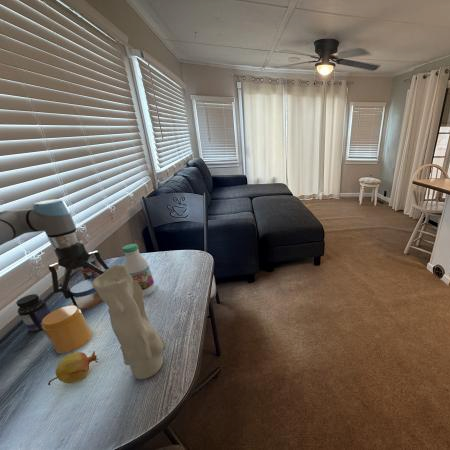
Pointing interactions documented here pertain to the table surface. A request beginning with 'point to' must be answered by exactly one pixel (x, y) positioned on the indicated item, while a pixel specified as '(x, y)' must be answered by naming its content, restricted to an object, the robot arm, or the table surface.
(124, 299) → the vase
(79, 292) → the lid
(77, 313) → the jar
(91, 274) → the supplement bottle
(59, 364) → the fruit
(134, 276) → the milk bottle
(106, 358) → the table surface
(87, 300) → the coaster
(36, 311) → the pill bottle
